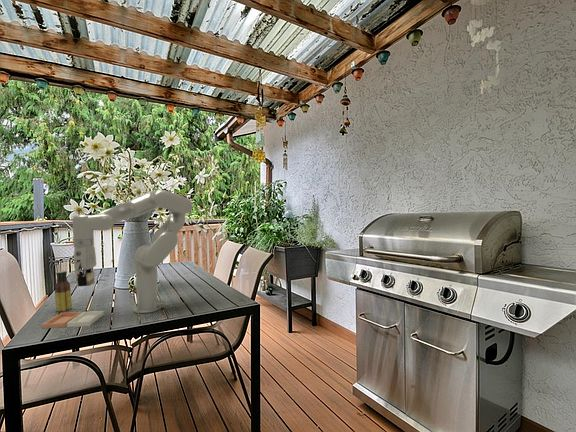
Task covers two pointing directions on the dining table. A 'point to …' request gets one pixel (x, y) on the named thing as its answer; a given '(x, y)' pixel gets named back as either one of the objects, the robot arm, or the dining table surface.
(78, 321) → the tray
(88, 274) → the letter cube
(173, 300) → the dining table surface
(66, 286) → the sauce bottle
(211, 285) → the dining table surface
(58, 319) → the tray
